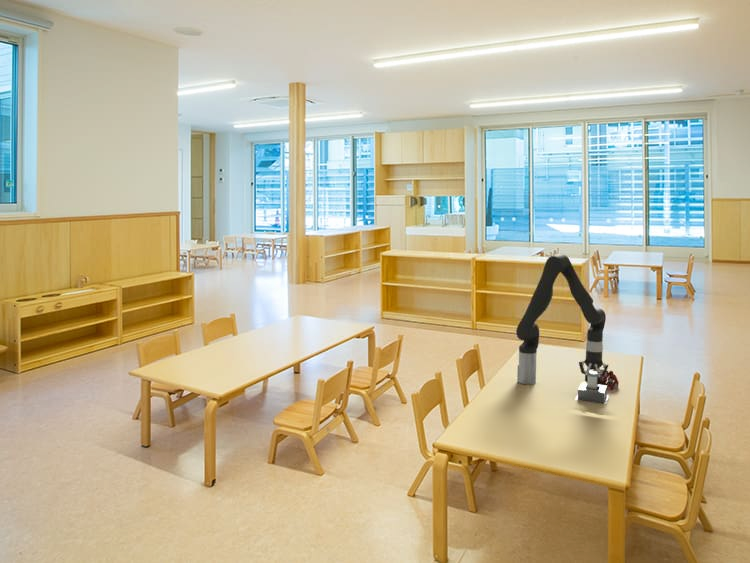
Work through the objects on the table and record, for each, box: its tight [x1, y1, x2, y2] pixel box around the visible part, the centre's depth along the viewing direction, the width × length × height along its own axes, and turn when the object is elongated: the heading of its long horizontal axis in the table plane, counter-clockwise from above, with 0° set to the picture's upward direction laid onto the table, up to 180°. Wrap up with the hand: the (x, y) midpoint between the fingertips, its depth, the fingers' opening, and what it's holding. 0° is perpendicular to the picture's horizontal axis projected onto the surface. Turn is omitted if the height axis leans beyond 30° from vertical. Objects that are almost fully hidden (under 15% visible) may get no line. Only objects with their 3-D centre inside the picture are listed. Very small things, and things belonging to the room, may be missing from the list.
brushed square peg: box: [587, 370, 598, 390], centre depth 277 cm, size 4×4×11 cm
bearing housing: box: [575, 381, 610, 405], centre depth 277 cm, size 14×14×6 cm
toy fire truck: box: [592, 368, 620, 391], centre depth 292 cm, size 7×12×10 cm, turn 55°
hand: (592, 382), depth 276 cm, fingers closed on brushed square peg, 4 cm apart
